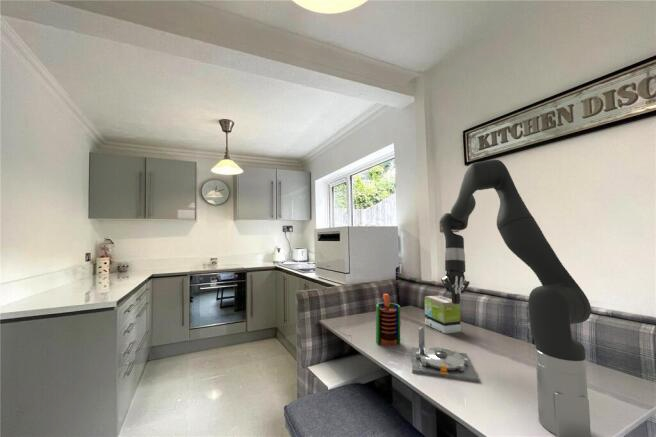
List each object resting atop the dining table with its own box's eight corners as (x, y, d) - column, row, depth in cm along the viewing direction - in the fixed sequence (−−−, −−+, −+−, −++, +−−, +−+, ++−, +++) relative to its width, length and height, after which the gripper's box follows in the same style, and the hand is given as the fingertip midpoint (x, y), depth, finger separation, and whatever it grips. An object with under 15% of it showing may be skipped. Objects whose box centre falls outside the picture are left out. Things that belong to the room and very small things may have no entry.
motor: (381, 347, 111) (381, 297, 113) (372, 339, 120) (372, 293, 121) (403, 345, 114) (402, 296, 116) (392, 337, 123) (392, 292, 124)
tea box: (424, 324, 142) (423, 295, 143) (440, 322, 145) (439, 294, 146) (444, 334, 128) (443, 302, 129) (461, 332, 131) (460, 300, 132)
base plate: (479, 382, 85) (479, 378, 85) (412, 372, 90) (412, 369, 90) (466, 356, 104) (466, 352, 104) (411, 349, 109) (411, 346, 109)
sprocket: (471, 358, 99) (470, 328, 99) (461, 376, 85) (460, 342, 86) (425, 347, 109) (424, 320, 110) (409, 361, 96) (409, 331, 96)
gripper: (460, 262, 117) (461, 304, 113) (435, 258, 113) (435, 301, 109) (474, 261, 111) (476, 306, 106) (449, 257, 106) (449, 303, 102)
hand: (455, 303), depth 108 cm, fingers closed
